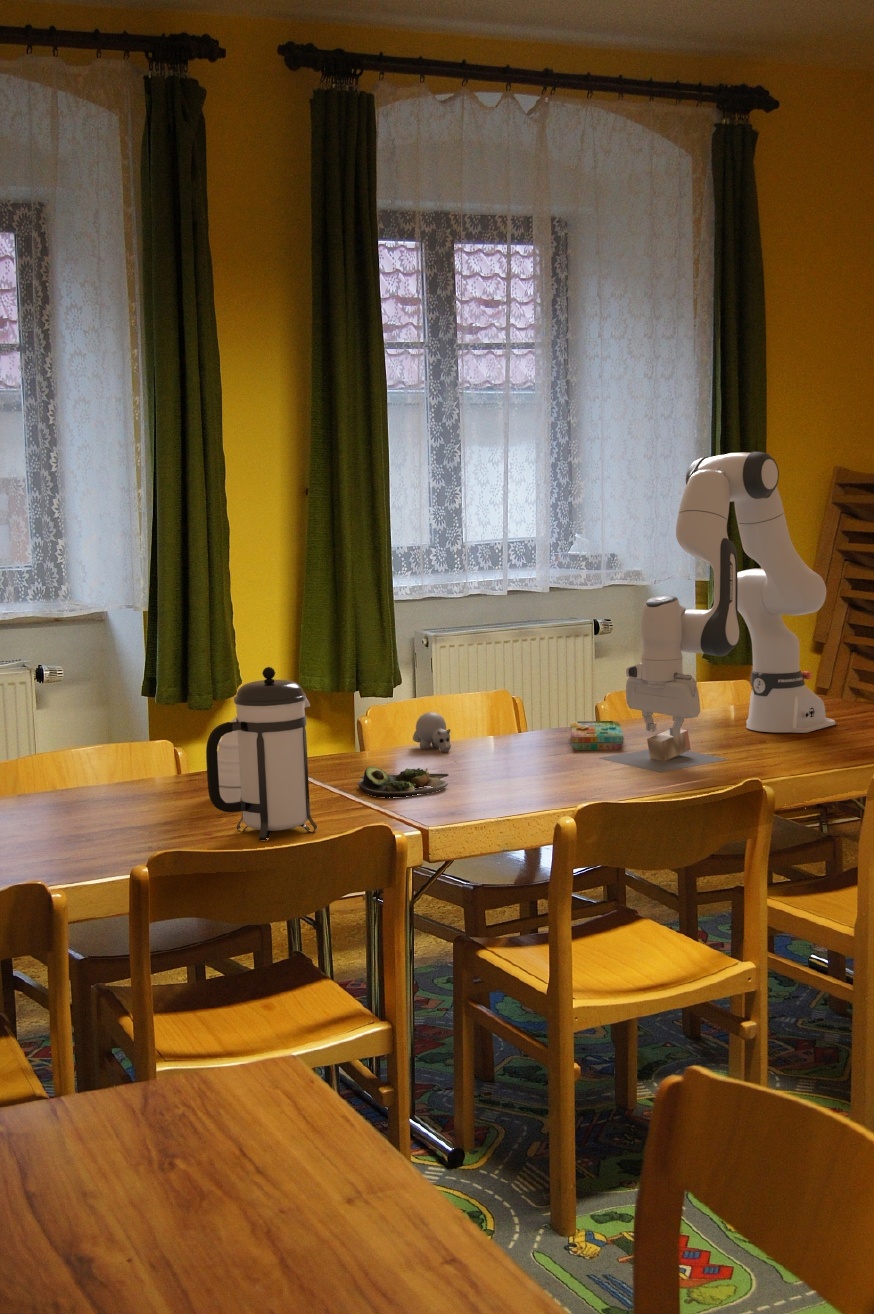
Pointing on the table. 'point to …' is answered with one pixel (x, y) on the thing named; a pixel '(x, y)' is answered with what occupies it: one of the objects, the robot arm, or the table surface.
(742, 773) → the table surface
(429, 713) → the round bodied animal figurine
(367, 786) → the salad plate
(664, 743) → the birch block
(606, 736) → the puzzle game
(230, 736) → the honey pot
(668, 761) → the felt mat
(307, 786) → the coffee press
